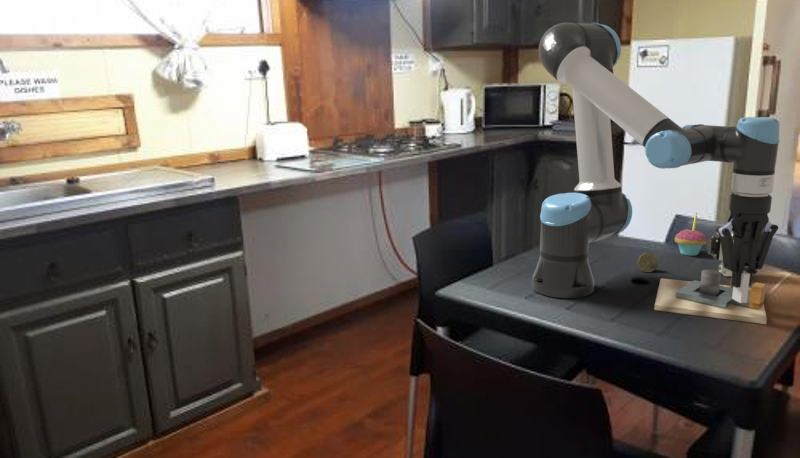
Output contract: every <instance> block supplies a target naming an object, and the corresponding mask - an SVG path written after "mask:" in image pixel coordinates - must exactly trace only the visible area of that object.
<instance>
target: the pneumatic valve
mask: <svg viewBox="0 0 800 458" xmlns="http://www.w3.org/2000/svg"><path fill="white" fill-rule="evenodd" d="M732 238H733V234H732ZM733 244H734V240H733ZM706 253H707V255H711V257H712V258H713V259H714V260H715V261H721V262H720V264H719V265H718V271H719V272H721V275H722V276H724V277H726V278H727V277H729V278H732V271H730V270H728V269H726V268H724V264H723V256H722V249H721V241H720V236H719V234H718V232H713V234H712V235H711V237H707V239H706Z"/></svg>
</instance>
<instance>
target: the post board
mask: <svg viewBox="0 0 800 458" xmlns="http://www.w3.org/2000/svg"><path fill="white" fill-rule="evenodd" d="M700 275H701V276H700V281H701V284H700V292H698V293H702V294H707V295H711V296H716V297H718V296H719V295H721V294H719V288H720V286H725V287H730V288H733V286H732V285H731V282H730V285H726V284H725V285H724V284H721V280H722V279H721V277H722V273H721V272H719V270H717V269H702V270H701V274H700ZM731 279H732V277H730V280H731ZM691 282H692V281H688V280H681V279H670V278H660V280H659V285H658V288H657V293H656V298H655V303H654V311H660V312H668V313H675V314H682V315H690V316H697V317H698V316H699V317H708V318H715V319H722V320H728V321H729V320H730V321H739V322H744V323H751V324H752V323H753V324H761V325H767V321H768V318H767V314H766V309H765V304H764V305H763V306H762V307H761V308H760V309H755V308H750V307H746V306H741V305H737V304H731V305H729V306H728V307H727V308H722V307H718V306H713V305H709V304H705V303H700V302H696V301H692V300H687V299H683V298H679V297H675V294H676V291H678V290H679V289H681V288H683V287H684V286H686V285H687V284H689V283H691ZM750 295H751V287H749V288H748V297H750Z"/></svg>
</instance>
